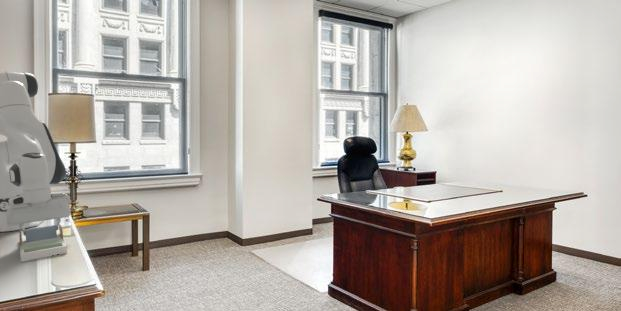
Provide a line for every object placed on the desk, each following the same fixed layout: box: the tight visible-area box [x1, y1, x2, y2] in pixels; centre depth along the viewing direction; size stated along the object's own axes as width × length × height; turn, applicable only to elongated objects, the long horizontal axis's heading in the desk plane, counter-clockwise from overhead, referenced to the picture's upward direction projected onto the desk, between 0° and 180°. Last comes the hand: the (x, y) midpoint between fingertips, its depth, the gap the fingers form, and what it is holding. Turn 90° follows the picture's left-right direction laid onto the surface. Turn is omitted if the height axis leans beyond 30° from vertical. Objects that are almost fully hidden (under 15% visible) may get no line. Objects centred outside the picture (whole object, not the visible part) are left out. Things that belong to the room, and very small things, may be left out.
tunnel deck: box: [18, 223, 68, 262], centre depth 153 cm, size 33×13×6 cm, turn 35°
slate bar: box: [25, 224, 57, 243], centre depth 154 cm, size 4×10×4 cm, turn 125°
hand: (41, 232), depth 156 cm, fingers open, 8 cm apart
